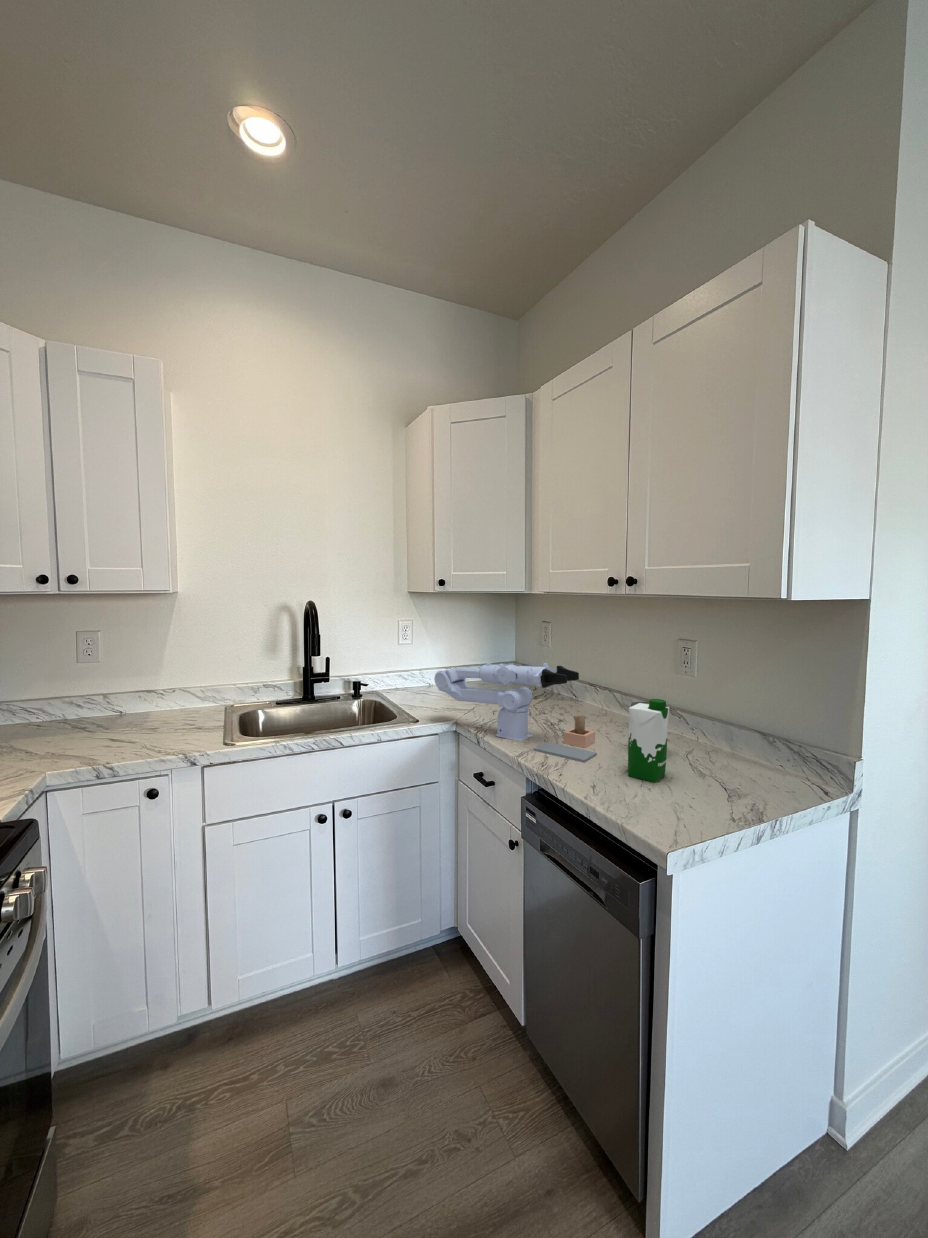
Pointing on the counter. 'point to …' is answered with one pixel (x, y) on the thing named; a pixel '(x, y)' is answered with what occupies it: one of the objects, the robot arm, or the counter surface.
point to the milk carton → (648, 740)
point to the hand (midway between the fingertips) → (572, 677)
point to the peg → (580, 725)
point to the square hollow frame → (579, 738)
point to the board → (565, 752)
